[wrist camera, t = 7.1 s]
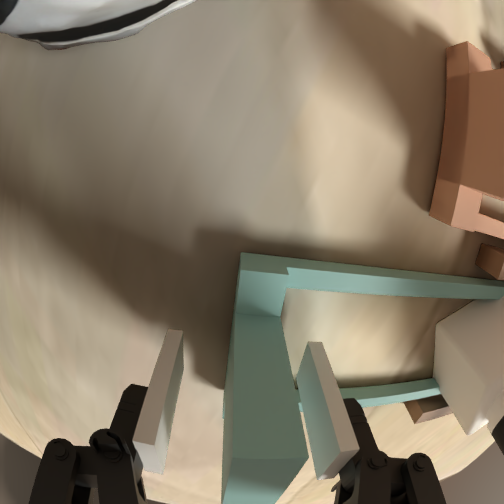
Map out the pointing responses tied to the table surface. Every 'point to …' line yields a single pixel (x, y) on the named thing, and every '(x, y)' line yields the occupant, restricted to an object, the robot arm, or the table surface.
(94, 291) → the table surface
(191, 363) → the table surface
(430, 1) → the table surface
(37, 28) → the lucky cat figurine
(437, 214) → the sled
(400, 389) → the frame
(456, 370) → the medicine bottle
